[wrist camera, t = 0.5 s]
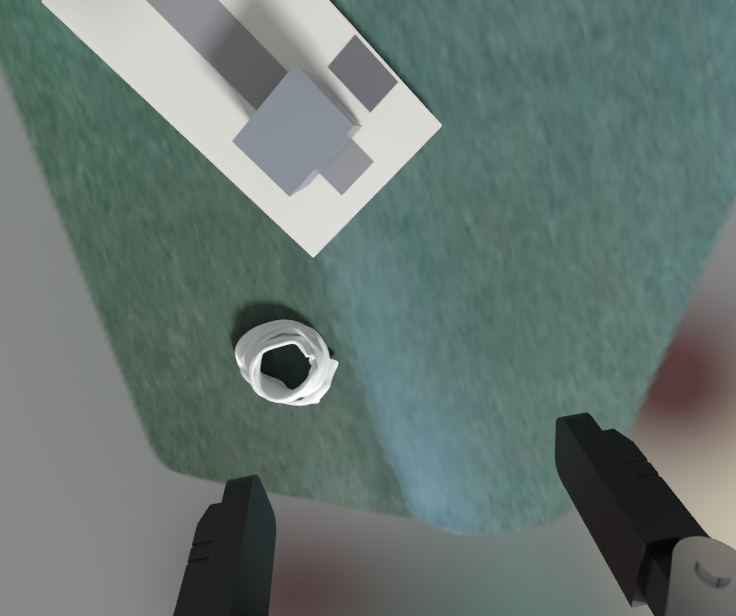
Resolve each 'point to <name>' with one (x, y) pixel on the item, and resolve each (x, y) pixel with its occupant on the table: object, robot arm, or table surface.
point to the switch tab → (296, 131)
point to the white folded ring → (277, 336)
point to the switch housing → (260, 91)
